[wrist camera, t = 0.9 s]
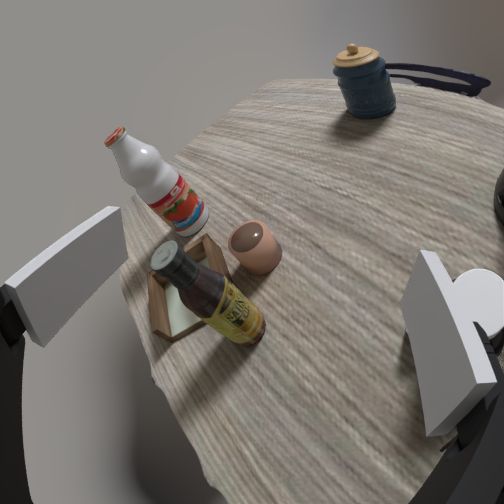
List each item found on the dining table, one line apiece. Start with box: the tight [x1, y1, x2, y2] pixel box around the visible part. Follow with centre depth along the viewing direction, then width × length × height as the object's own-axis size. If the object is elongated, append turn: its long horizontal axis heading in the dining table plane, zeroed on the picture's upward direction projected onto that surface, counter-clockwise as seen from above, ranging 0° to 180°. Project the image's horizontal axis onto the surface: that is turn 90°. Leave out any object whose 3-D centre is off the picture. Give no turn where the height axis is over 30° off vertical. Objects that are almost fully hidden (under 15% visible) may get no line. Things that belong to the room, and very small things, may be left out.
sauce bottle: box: [150, 240, 266, 346], centre depth 37 cm, size 7×6×20 cm
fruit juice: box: [104, 126, 209, 237], centre depth 58 cm, size 9×9×28 cm
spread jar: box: [406, 269, 504, 358], centre depth 25 cm, size 12×11×12 cm
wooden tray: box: [147, 233, 233, 342], centre depth 52 cm, size 15×14×5 cm
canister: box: [333, 44, 396, 119], centre depth 56 cm, size 13×13×18 cm
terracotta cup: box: [228, 220, 282, 275], centre depth 49 cm, size 7×7×6 cm
